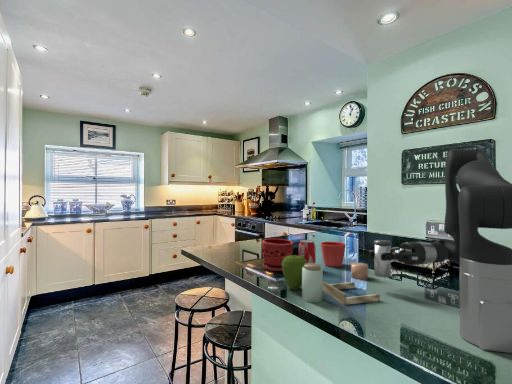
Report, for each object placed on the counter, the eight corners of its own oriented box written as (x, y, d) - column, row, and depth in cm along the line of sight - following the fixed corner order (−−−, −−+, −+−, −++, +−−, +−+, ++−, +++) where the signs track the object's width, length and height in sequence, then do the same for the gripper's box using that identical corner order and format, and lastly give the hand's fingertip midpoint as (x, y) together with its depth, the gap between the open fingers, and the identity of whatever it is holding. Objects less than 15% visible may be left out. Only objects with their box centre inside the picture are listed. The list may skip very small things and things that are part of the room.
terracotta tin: (369, 280, 100) (369, 266, 100) (352, 279, 102) (352, 265, 102) (366, 276, 106) (366, 263, 106) (350, 274, 107) (350, 262, 107)
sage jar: (322, 303, 78) (322, 268, 78) (301, 301, 79) (301, 266, 79) (322, 296, 84) (322, 263, 84) (302, 294, 85) (302, 262, 85)
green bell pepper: (313, 289, 90) (313, 254, 90) (296, 295, 84) (297, 257, 84) (292, 282, 96) (292, 250, 96) (276, 288, 90) (276, 253, 90)
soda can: (315, 272, 110) (315, 242, 110) (297, 271, 111) (298, 241, 112) (315, 267, 117) (315, 239, 117) (298, 266, 118) (298, 239, 119)
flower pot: (315, 263, 125) (315, 242, 125) (334, 261, 130) (334, 240, 130) (331, 269, 115) (331, 246, 115) (350, 266, 120) (350, 244, 120)
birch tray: (353, 287, 92) (353, 278, 92) (379, 300, 80) (379, 290, 80) (321, 290, 88) (321, 281, 89) (344, 305, 77) (344, 294, 77)
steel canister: (392, 278, 85) (392, 242, 85) (375, 276, 86) (375, 241, 86) (388, 273, 90) (388, 240, 90) (372, 272, 91) (372, 239, 91)
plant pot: (261, 273, 108) (261, 242, 108) (262, 265, 121) (262, 237, 121) (294, 274, 107) (294, 243, 107) (291, 265, 120) (292, 238, 120)
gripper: (400, 239, 99) (360, 240, 94) (436, 245, 85) (392, 247, 80) (400, 259, 99) (360, 262, 94) (436, 269, 85) (392, 272, 80)
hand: (375, 255), depth 87 cm, fingers closed on steel canister, 4 cm apart
